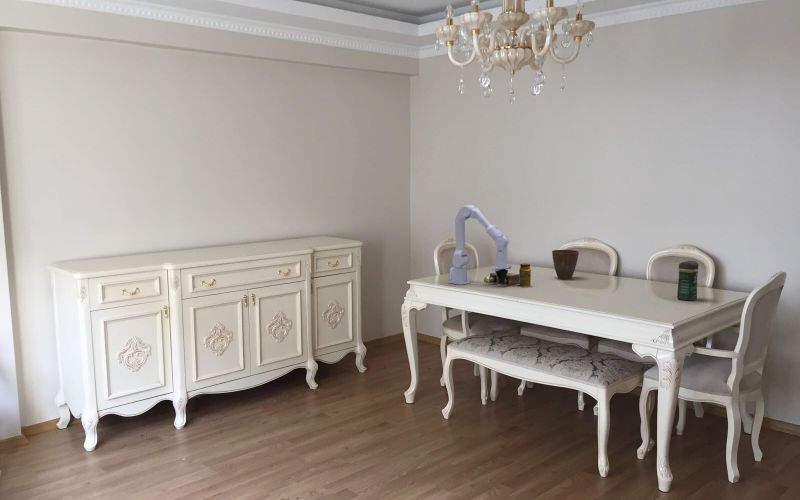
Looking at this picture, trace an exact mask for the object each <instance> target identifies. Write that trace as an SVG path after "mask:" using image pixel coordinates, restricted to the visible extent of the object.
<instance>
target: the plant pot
mask: <svg viewBox="0 0 800 500" xmlns="http://www.w3.org/2000/svg"><path fill="white" fill-rule="evenodd" d="M551 253H552V254H551V256H552V260H553V267H554V270H555V271H554V272H555V273H556V276H557V279H559V280H562V281H569V280H571V279H572V278H573V275H574V273H575V270H576V266H577V264H578V259H579V254H580V253H579V250H574V249H573V250H572V249H553V250H552V251H551Z"/></svg>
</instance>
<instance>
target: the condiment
mask: <svg viewBox="0 0 800 500" xmlns="http://www.w3.org/2000/svg"><path fill="white" fill-rule="evenodd" d="M518 272H519V273H518V274H519V285H513V286H514V287H516V288H521V289H522V288H530V287H533V285H531V282H532V281H531V280H532V279H531V277H532V276H531V272H532V270H531V264H530V263H521V264H520V265H519V271H518ZM513 286H512V287H513Z"/></svg>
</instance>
